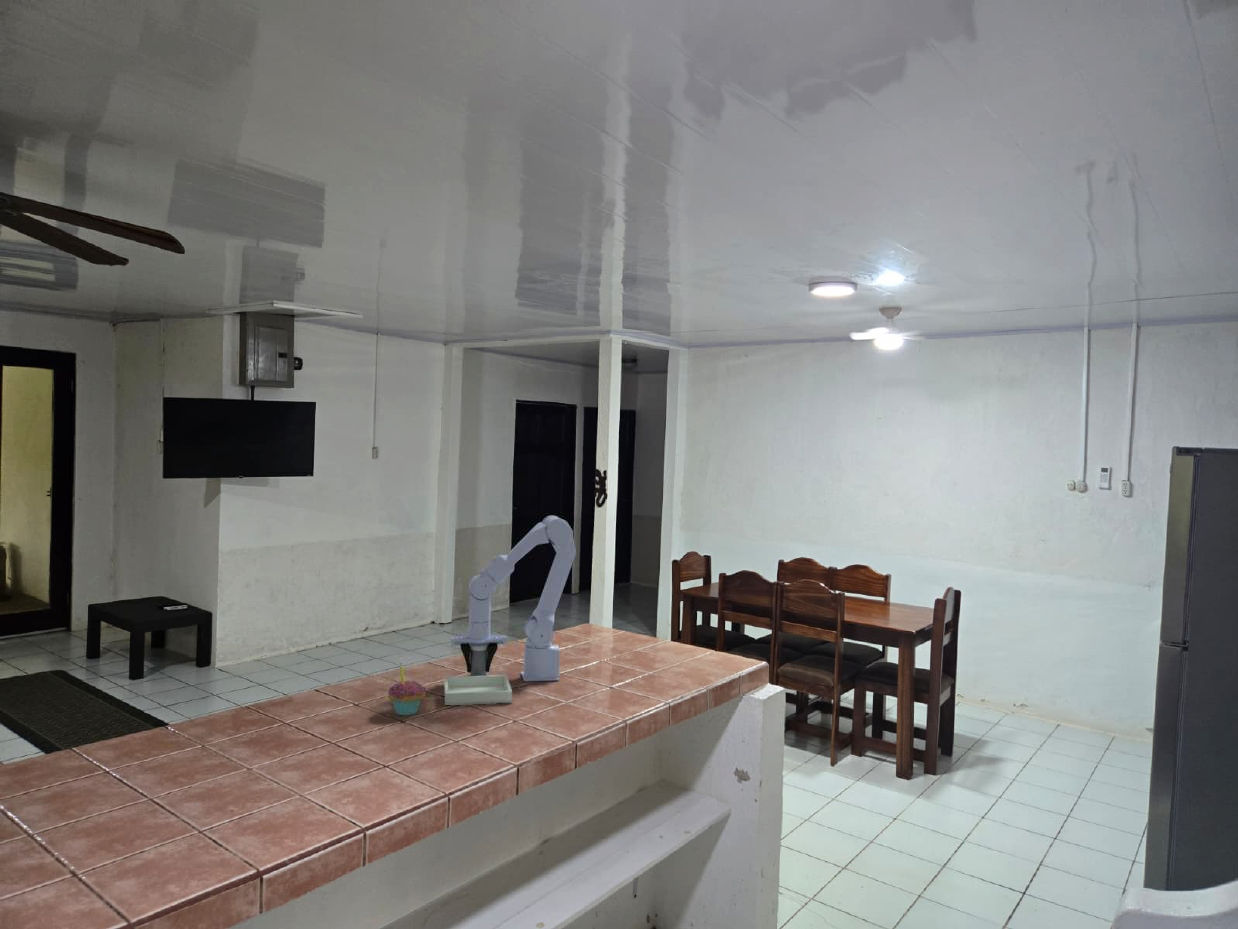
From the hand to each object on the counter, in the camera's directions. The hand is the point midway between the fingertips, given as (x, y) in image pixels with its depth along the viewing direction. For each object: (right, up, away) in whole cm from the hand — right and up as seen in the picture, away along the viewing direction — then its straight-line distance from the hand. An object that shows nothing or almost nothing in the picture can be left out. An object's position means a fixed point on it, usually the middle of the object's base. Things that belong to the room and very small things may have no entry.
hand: (478, 671), depth 219 cm
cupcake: (-12, -3, -26) cm, 29 cm away
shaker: (0, -2, 0) cm, 2 cm away
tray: (+2, -3, -13) cm, 13 cm away
